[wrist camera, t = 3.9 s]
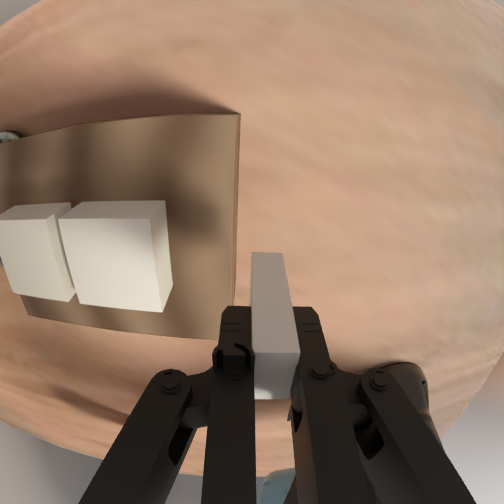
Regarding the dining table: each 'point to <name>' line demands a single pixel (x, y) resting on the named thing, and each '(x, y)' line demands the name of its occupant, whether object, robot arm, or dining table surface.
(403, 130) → the dining table surface
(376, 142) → the dining table surface
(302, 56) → the dining table surface
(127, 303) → the tile
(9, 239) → the tile
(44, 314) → the block
